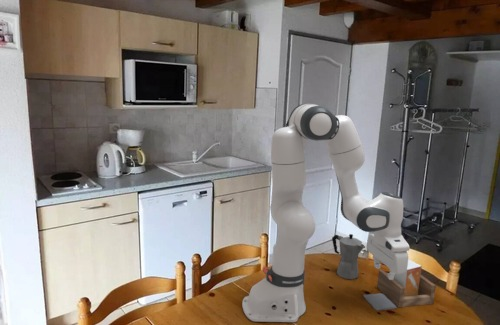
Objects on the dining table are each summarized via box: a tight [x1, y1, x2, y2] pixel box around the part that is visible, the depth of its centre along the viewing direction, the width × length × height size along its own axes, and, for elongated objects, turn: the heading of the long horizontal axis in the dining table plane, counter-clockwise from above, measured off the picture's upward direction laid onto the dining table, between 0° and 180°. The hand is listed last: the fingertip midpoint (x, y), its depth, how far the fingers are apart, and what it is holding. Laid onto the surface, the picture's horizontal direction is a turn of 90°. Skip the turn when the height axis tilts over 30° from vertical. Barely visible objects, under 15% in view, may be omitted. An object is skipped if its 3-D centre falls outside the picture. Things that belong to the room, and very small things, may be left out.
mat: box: [362, 292, 398, 311], centre depth 133 cm, size 8×9×1 cm
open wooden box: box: [376, 269, 437, 308], centre depth 138 cm, size 15×14×8 cm
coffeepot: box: [331, 233, 366, 280], centre depth 153 cm, size 15×9×18 cm, turn 44°
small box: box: [394, 258, 423, 297], centre depth 138 cm, size 8×6×13 cm
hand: (383, 273), depth 131 cm, fingers open, 7 cm apart
